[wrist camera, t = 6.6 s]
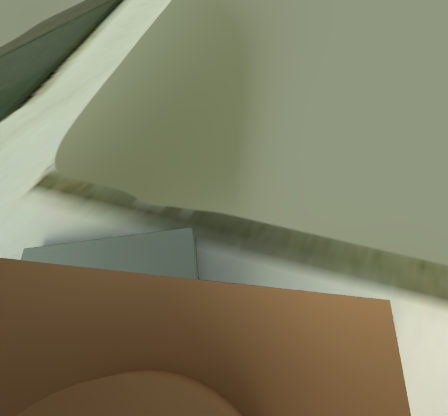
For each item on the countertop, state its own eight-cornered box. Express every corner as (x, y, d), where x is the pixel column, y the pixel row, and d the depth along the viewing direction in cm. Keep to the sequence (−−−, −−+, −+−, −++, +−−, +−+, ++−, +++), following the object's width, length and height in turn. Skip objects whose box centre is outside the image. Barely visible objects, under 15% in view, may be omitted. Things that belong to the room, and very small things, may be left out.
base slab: (220, 576, 14) (217, 631, 11) (-43, 620, 13) (-110, 687, 11) (195, 236, 23) (190, 222, 21) (40, 256, 23) (14, 244, 20)
